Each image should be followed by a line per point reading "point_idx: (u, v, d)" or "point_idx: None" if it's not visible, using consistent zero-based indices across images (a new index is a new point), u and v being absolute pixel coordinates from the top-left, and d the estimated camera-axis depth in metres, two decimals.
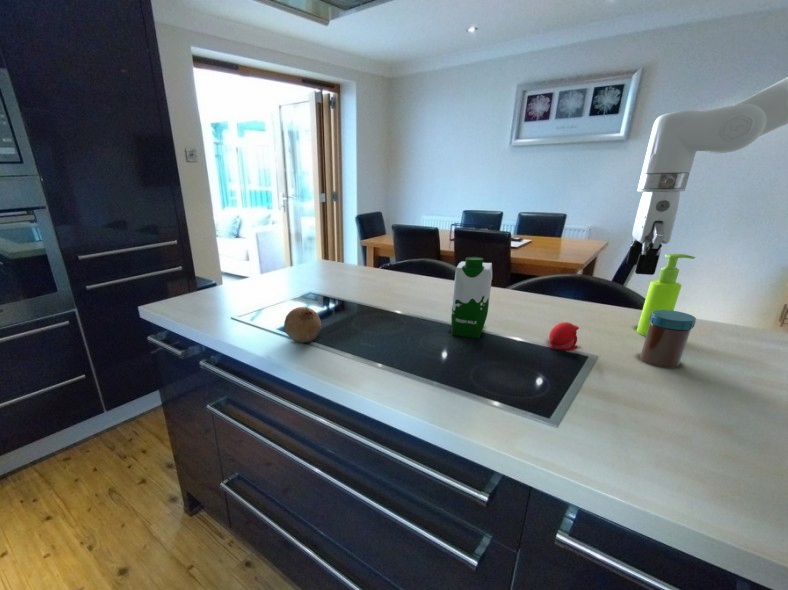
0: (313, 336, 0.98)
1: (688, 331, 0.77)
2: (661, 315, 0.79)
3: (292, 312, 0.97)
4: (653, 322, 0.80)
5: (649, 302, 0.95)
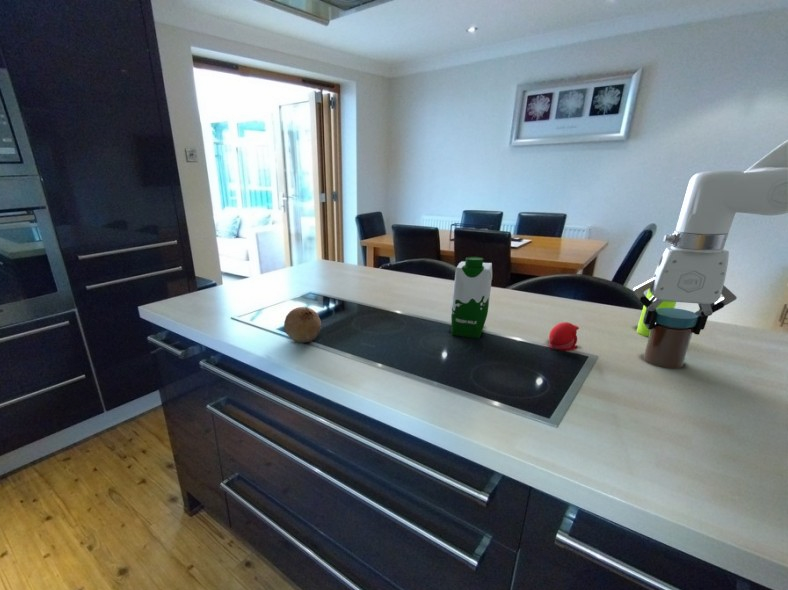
0: (313, 336, 0.98)
1: (691, 330, 0.77)
2: (667, 309, 0.81)
3: (292, 312, 0.97)
4: None
5: None
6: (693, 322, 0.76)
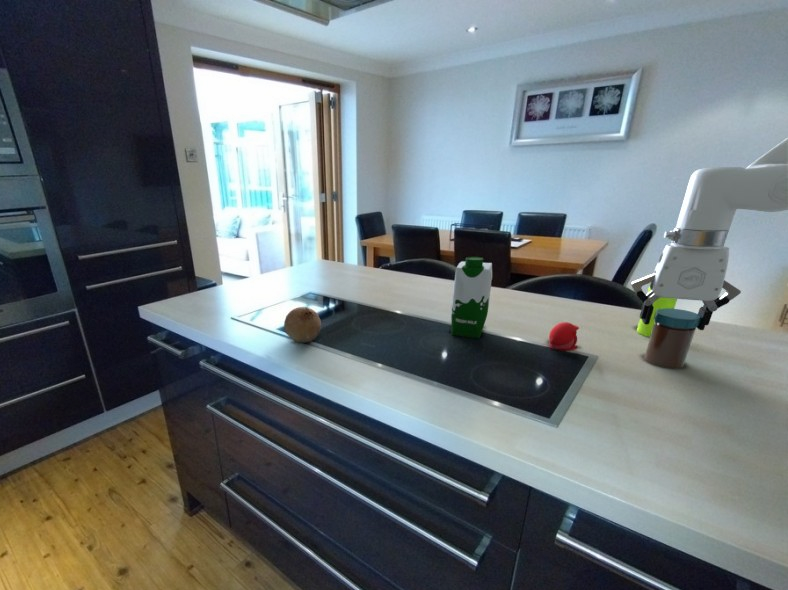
0: (313, 336, 0.98)
1: (693, 331, 0.77)
2: (669, 310, 0.81)
3: (292, 312, 0.97)
4: None
5: None
6: (695, 323, 0.76)
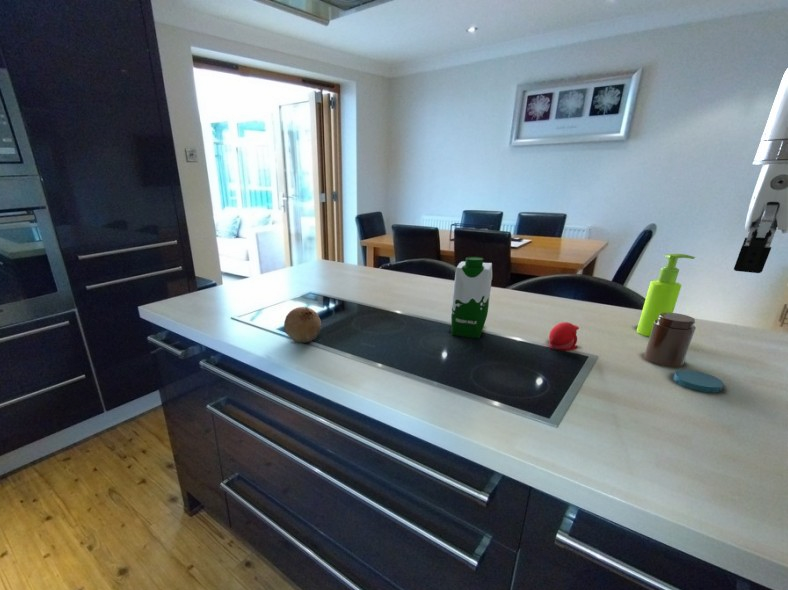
0: (313, 336, 0.98)
1: (694, 330, 0.78)
2: (702, 383, 0.72)
3: (292, 312, 0.97)
4: None
5: (649, 302, 0.95)
6: None
